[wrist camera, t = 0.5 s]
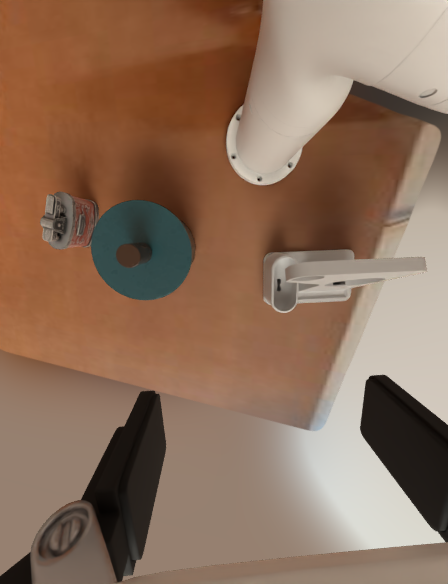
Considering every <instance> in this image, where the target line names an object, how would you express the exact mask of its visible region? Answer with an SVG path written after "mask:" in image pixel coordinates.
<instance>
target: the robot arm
mask: <svg viewBox="0 0 448 584" xmlns="http://www.w3.org/2000/svg"><path fill="white" fill-rule="evenodd" d="M353 80H355V81H358V82H360V83H363V84H365V85H368V86H373V87H376V88H378V89H381V90H384V91H386V92H388V93H391V94H393V95H396V96H398V97H401V98H403V99H406V100H408V101H411V102H413V103H416V104H418V105H422V106H424V107H427V108H429V109H433V110H436V111H439V112H442V113H446V114H448V0H263V10H262V19H261V26H260V32H259V38H258V43H257V48H256V53H255V58H254V62H253V66H252V71H251V76H250V80H249V84H248V89H247V93H246V97H245V101H244V105H242V106H241V107H240V108H239V109H238V111H237V112H236V113H235V114H234V116H233V118H232V119H231V122H230V124H229V127H228V131H227V137H226V151H227V155H228V159H229V161H230V164H231V166H232V167H233V169H234V170H235V172H236V173H237V174H238V175H239V176H240V177H241V178H243V179H244V180H246V181H247V182H250V183H252V184H256V185H270V184H274V183H276V182H278V181H280V180H282V179H283V178H285V177H286V176H287V175H288V174H289V173H290V172H291V171H292V170H293V169H294V167H295V166H296V164H297V162H298V161H299V158H300V155H301V153H302V147H303V146H304V145H305V144H306V143H307V142H308V141H309V140H310V139H311V138H312V137H313V136H314V135H315V134H316V133H317V132H318V131H319V130H320V129H321V128H322V127H323V126H324V125H325V124H326V123H327V122H328V121H329V120H330V119H331V118H332V117H333V116H334V115H335V114H336V112H337V111H338V110H339V109H340V107H341V106H342V104H343V103H344V101H345V99H346V97H347V95H348V93H349V91H350V89H351V86H352V83H353ZM237 119H239V121H238V120H237ZM233 156H234V157H235V159H232V157H233ZM288 165H289V166H290V168H289V167H288ZM258 178H259V179H260V181H258V180H257V179H258ZM360 430H361V434H362V436H363V437H364V439H365V440H366V441H367V443H368V444H369V445H370V447H371V448H372V450H373V451H374V452H375V454H376V455H377V456H378V458H379V459H380V460H381V461H382V463H383V464H384V465H385V467H386V468H387V470H388V471H389V472H390V474H391V475H392V476H393V477H394V479H395V480H396V482H397V483H398V484H399V486H400V487H401V488H402V490H403V491H404V492H405V494H406V495H407V496H408V498H410V500H411V502H412V503H413V504H414V506H415V507H416V508H417V509H418V511H419V512H420V514H421V515H422V516H423V518H424V519H425V520H426V521H427V523H428V524H429V525H430V527H431V528H432V529H434V530H435V531H438V532H439V534H440V535H441V537H442V538H443V539H444V540H445V542H446V543H435V544H425V545H424V544H423V545H413V546H401V547H390V548H380V549H370V550H359V551H348V552H339V553H329V554H318V555H307V556H298V557H287V558H279V559H269V560H259V561H250V562H240V563H230V564H221V565H212V566H204V567H197V568H189V569H180V570H173V571H165V572H159V573H154V574H149V575H144V576H139V577H134V578H131V579H128V580H125V581H122V579H123V576H128V575H133V572H134V567H135V563H136V560H140V559H141V558H142V555H143V551H144V547H145V543H146V538H147V534H148V529H149V525H150V520H151V516H152V511H153V506H154V502H155V497H156V493H157V488H158V484H159V479H160V475H161V470H162V466H163V461H164V457H165V451H166V440H165V433H164V425H163V417H162V409H161V402H160V395H159V394H156V393H155V391H142V392H140V394H139V396H138V398H137V401H136V403H135V405H134V407H133V409H132V412H131V413H130V416H129V418H128V420H127V422H126V424H125V426H124V427H118V428H117V430H116V431H115V433H114V435H113V437H112V439H111V441H110V443H109V445H108V447H107V449H106V451H105V453H104V455H103V457H102V459H101V461H100V463H99V465H98V467H97V469H96V471H95V473H94V475H93V477H92V479H91V481H90V483H89V485H88V487H87V489H86V491H85V493H84V495H83V497H82V499H81V500H78V501H74V502H71V503H69V504H67V505H65V506H64V507H62V508H60V509H59V510H58V511H56V512H55V513H54V514H52V515H51V516H50V518H49V519H48V520H47V521H46V522H45V523H44V524H43V525H42V527H41V528H40V530H39V531H38V533H37V534H36V537H35V539H34V541H33V544H32V547H31V552H30V553H29V554H27V555H26V556H25V557H24V558H22V559H21V560H20V561H19V562H17V563H16V564H15V565H14V566H12V567H11V568H10V569H9V570H7V571H6V572H5V573H4V574H2V575H1V576H0V584H448V425H447V424H446V423H445V422H443V421H442V420H441V419H440V418H438V417H437V416H436V415H435V414H433V413H432V412H431V411H430V410H428V409H427V408H426V407H425V406H423V405H422V404H421V403H420V402H418V401H417V400H416V399H415V398H413V397H412V396H411V395H410V394H409V393H407V392H406V391H405V390H404V389H402V388H401V387H400V386H398V385H397V384H396V383H395V382H393V381H392V380H391V379H390V378H389V377H387V376H386V375H374V376H370V377H369V379H368V380H367V381H366V385H365V393H364V402H363V409H362V418H361V426H360Z"/></svg>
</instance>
